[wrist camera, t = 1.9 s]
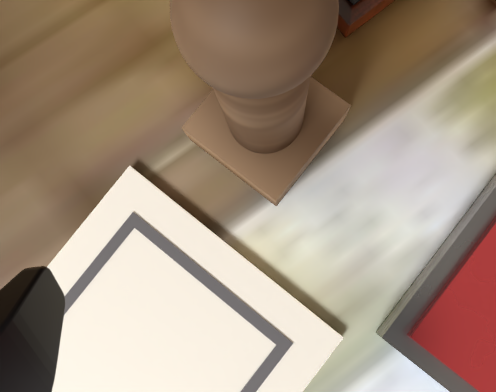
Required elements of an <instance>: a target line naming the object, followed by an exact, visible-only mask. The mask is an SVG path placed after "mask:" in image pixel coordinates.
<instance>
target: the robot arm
mask: <svg viewBox="0 0 496 392" xmlns="http://www.w3.org/2000/svg"><path fill="white" fill-rule="evenodd" d="M64 312H65V296H64V293H63V291H62V289H61V288H60V286H59V284H58V282H57V281H56V279H55V277H54V275H53V274H52V272H51V270H50V269H49V268H48V267H45V266H40V267H31V268H26V269H24V270H22V271H21V272H20V273H19V274H18V275H16V276H15V277H14V278H13V279H12V280H11V281H10V282H9V283H8V284H6V285H5V286H4V287H3V288H2V289H1V290H0V392H52V388H53V384H54V379H55V374H56V368H57V361H58V354H59V347H60V340H61V333H62V326H63V319H64Z"/></svg>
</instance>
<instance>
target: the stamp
mask: <svg viewBox="0 0 496 392" xmlns="http://www.w3.org/2000/svg"><path fill="white" fill-rule="evenodd" d="M338 13H339V2H338V0H170V18H171V26H172V31H173V34H174V37H175V41H176V43H177V46H178V48H179V50H180V52H181V55H182V56H183V58H184V59H185V61H186V62H187V64H188V65H189V67H190V68H191V69H192V70H193V71H194V72H195V74H196V75H197V76H198V77H200V78H201V79H202V80H203V81H204V82H206V83H207V84H208V85H210V86H211V87H213V90H212V91H211V92H210V93H209V95H208V96H207V97H206V98H205V99H204V101H203V102H202V103H201V104H200V106H199V107H198V108H197V109H196V111H195V112H194V113H193V114H192V115H191V117H190V118H189V119H188V120H187V122H186V123H185V124H184V125H183V127H182V129H183V131H184V132H185V133H186V134H187V136H188V137H189V138H190V140H191V141H193V142H194V143H195V144H197V145H198V146H199V147H200V148H202V149H203V150H204V151H206V152H207V153H208V154H209V155H211V156H212V157H213V158H215V159H216V160H217V161H218V162H220V163H221V164H222V165H224V166H225V167H226V168H228V169H229V170H230V171H231V172H233V173H234V174H235V175H237V176H238V177H239V178H240V179H242V180H243V181H244V182H246V183H247V184H248V185H249V186H251V187H252V188H253V189H255V190H256V191H257V192H258V193H260V194H261V195H262V196H264V197H265V198H266V199H267V200H269V201H270V202H271V203H273V204H274V205H275V206H277V205H278V204H279V202H280V201H281V200H282V198H283V197H284V196H285V195H286V193H287V192H288V191H289V190H290V188H291V187H292V186H293V184H294V183H295V182H296V181H297V179H298V178H299V177H300V176H301V174H302V173H303V172H304V170H305V169H306V168H307V167H308V165H309V164H310V163H311V162H312V160H313V159H314V158H315V156H316V155H317V154H318V153H319V151H320V150H321V149H322V148H323V146H324V145H325V144H326V143H327V141H328V140H329V139H330V137H331V136H332V135H333V134H334V132H335V131H336V130H337V129H338V127H339V126H340V125H341V123H342V122H343V121H344V119H345V117H346V115H347V113H348V111H349V109H350V107H351V105H350V104H348V103H347V102H346V101H344V100H343V99H341V98H340V97H339V96H337V95H336V94H334V93H333V92H332V91H330V90H329V89H328V88H326V87H325V86H323V85H322V84H321V83H319V82H318V81H316V80H315V79H314V78H312V77H311V75H312V74H313V72H314V71H315V70H316V69H317V68H318V67H319V66H320V64H321V63H322V61H323V60H324V58H325V57H326V55H327V53H328V51H329V49H330V47H331V44H332V42H333V39H334V36H335V33H336V28H337V23H338Z"/></svg>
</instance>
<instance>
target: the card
mask: <svg viewBox="0 0 496 392" xmlns="http://www.w3.org/2000/svg"><path fill="white" fill-rule="evenodd" d="M47 267H48V268H49V269H50V270H51V272H52V274H53V275H54V277H55V279H56V281H57V282H58V284H59V286H60V288H61V289H62V291H63V293H64V296H65V312H64V319H63V326H62V333H61V340H60V347H59V354H58V361H57V368H56V374H55V379H54V384H53V388H52V392H303V391H304V389H305V388H306V387H307V385H308V384H309V383H310V381H311V380H312V379H313V377H314V376H315V375H316V373H317V372H318V371H319V369H320V368H321V367H322V366H323V364H324V363H325V362H326V360H327V359H328V358H329V356H330V355H331V354H332V352H333V351H334V350H335V348H336V347H337V346H338V344H339V343H340V342H341V341H342V339H343V336H342V335H340V334H339V333H338V332H337V331H335V330H334V329H333V328H332V327H330V326H329V325H328V324H327V323H325V322H324V321H323V320H322V319H320V318H319V317H318V316H317V315H315V314H314V313H313V312H312V311H311V310H309V309H308V308H307V307H306V306H304V305H303V304H302V303H301V302H299V301H298V300H297V299H296V298H294V297H293V296H292V295H291V294H289V293H288V292H287V291H286V290H284V289H283V288H282V287H281V286H279V285H278V284H277V283H276V282H274V281H273V280H272V279H271V278H269V277H268V276H267V275H266V274H264V273H263V272H262V271H261V270H259V269H258V268H257V267H256V266H255V265H253V264H252V263H251V262H250V261H248V260H247V259H246V258H245V257H243V256H242V255H241V254H240V253H238V252H237V251H236V250H235V249H233V248H232V247H231V246H230V245H228V244H227V243H226V242H225V241H223V240H222V239H221V238H220V237H218V236H217V235H216V234H215V233H213V232H212V231H211V230H210V229H208V228H207V227H206V226H205V225H204V224H202V223H201V222H200V221H199V220H197V219H196V218H195V217H194V216H192V215H191V214H190V213H189V212H187V211H186V210H185V209H184V208H182V207H181V206H180V205H179V204H177V203H176V202H175V201H174V200H172V199H171V198H170V197H169V196H167V195H166V194H165V193H164V192H162V191H161V190H160V189H159V188H157V187H156V186H155V185H154V184H152V183H151V182H150V181H149V180H148V179H146V178H145V177H144V176H143V175H141V174H140V173H139V172H138V171H136V170H135V169H134V168H133V167H131V166H129V167H128V168H127V169H126V171H125V172H124V173H123V174H122V176H121V177H120V178H119V179H118V181H117V182H116V183H115V184H114V185H113V187H112V188H111V189H110V190H109V192H108V193H107V194H106V195H105V196H104V198H103V199H102V200H101V201H100V203H99V204H98V205H97V206H96V208H95V209H94V210H93V211H92V212H91V214H90V215H89V216H88V217H87V219H86V220H85V221H84V222H83V223H82V225H81V226H80V227H79V228H78V230H77V231H76V232H75V233H74V235H73V236H72V237H71V238H70V239H69V241H68V242H67V243H66V244H65V246H64V247H63V248H62V249H61V250H60V252H59V253H58V254H57V255H56V257H55V258H54V259H53V260H52V262H51V263H50V264H49V265H48V266H47Z"/></svg>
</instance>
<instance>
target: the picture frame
mask: <svg viewBox="0 0 496 392" xmlns="http://www.w3.org/2000/svg"><path fill="white" fill-rule="evenodd" d="M394 1H395V0H338V2H339V13H338V23H337V28H338V29H339V30H340V32H341V33H342V34H343V35H344V36H345V38H346V37H347V36H348V35H350V34H351V33H352V32H354V31H355V30H356V29H358V28H359V27H360V26H362V25H363V24H364V23H366V22H367V21H368V20H370V19H371V18H372V17H374V16H375V15H376V14H378V13H379V12H380V11H382V10H383V9H384V8H386V7H387V6H388V5H390V4H391V3H392V2H394Z"/></svg>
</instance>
